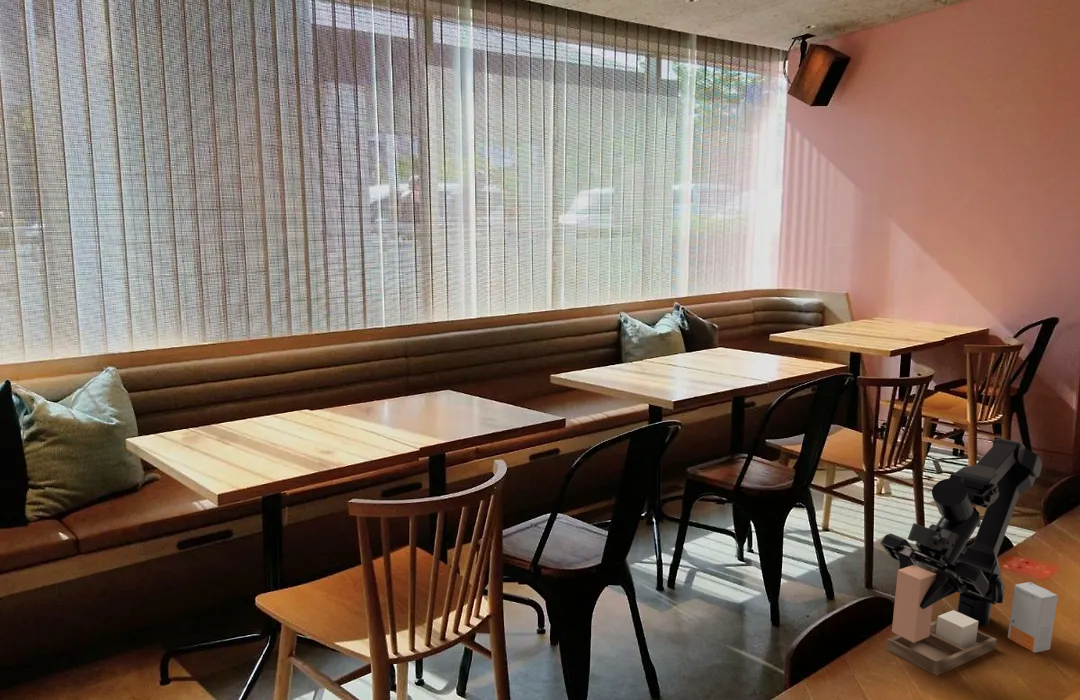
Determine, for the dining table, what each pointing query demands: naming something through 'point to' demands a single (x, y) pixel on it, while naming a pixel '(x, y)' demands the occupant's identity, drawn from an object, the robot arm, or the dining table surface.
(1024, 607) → the skincare box
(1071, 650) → the dining table surface
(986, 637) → the walnut slot tray
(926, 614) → the terracotta peg
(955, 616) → the cream block
